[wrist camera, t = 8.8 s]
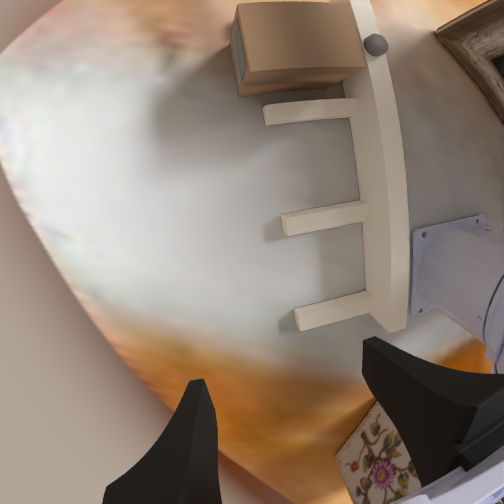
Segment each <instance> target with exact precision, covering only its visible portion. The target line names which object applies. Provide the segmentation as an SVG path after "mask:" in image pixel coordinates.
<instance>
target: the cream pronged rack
mask: <svg viewBox="0 0 504 504" xmlns="http://www.w3.org/2000/svg"><path fill="white" fill-rule="evenodd" d="M328 3H337V4H348V5H349V7H350V11H351V14H352V17H353V21H354V24H355V28H356V31H357V35H358V39H359V43H360V47H361V51H362V55H363V59H364V63H365V68H364V69H362V70H360V71H358V72H356V73H354V74H352V75H350V76H348V77H347V78H345V79H343V80H342V83H343V88H344V93H345V98H342V99H323V100H308V101H297V102H286V103H277V104H269V105H266V106H265V107H264V108H263V114H264V119H265V125H266V126H269V125H276V124H284V123H293V122H302V121H311V120H322V119H335V118H349V120H350V126H351V132H352V138H353V145H354V152H355V159H356V167H357V175H358V183H359V193H360V200H359V201H353V202H347V203H341V204H335V205H330V206H324V207H318V208H313V209H307V210H302V211H296V212H291V213H286V214H280V215H281V221H282V228H283V232H284V233H285V234H286V235H287V236H293V235H298V234H303V233H308V232H313V231H318V230H323V229H328V228H333V227H338V226H343V225H348V224H353V223H358V222H362V226H363V240H364V258H365V285H366V291H362V292H358V293H355V294H351V295H347V296H343V297H340V298H336V299H332V300H328V301H324V302H320V303H316V304H312V305H308V306H304V307H300V308H295V309H294V314H295V322H296V324H297V326H298V328H299V330H300V331H304V330H308V329H312V328H316V327H320V326H324V325H327V324H331V323H335V322H338V321H342V320H345V319H349V318H352V317H356V316H359V315H363V314H366V313H369V314H370V315H371V316H372V317H373V318H374V319H375V320H376V321H377V322H378V323H379V324H380V325H381V326H382V327H383V328H384V329H385V330H386V331H387V332H388V333H389V334H391V333H394V332H397V331H399V330H402V329H405V328H406V324H407V311H408V293H409V212H408V195H407V181H406V170H405V161H404V152H403V144H402V137H401V130H400V123H399V117H398V111H397V105H396V100H395V95H394V90H393V85H392V80H391V76H390V71H389V67H388V63H387V58H386V55H385V53H386V52H387V51H388V44H387V42H386V40H385V39H384V38H383V37H382V36H381V35H380V32H379V29H378V26H377V22H376V19H375V16H374V13H373V10H372V7H371V4H370V1H369V0H330V1H329V2H328Z"/></svg>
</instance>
